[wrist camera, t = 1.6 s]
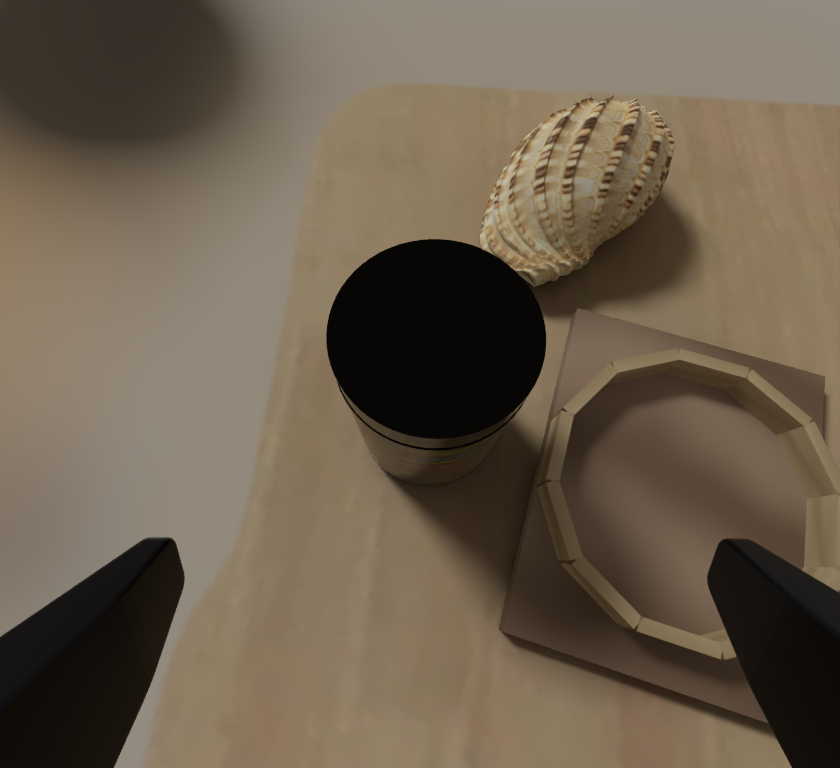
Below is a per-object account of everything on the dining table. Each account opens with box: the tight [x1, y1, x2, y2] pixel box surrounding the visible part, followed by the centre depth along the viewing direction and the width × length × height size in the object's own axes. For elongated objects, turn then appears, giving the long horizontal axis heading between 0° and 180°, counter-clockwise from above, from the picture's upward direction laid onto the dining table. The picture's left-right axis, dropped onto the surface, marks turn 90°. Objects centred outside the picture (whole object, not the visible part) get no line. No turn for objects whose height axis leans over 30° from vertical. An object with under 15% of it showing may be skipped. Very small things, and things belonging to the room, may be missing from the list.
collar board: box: [499, 308, 840, 724], centre depth 19 cm, size 14×11×2 cm
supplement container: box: [326, 239, 546, 486], centre depth 17 cm, size 6×6×9 cm
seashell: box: [480, 95, 674, 287], centre depth 23 cm, size 8×6×10 cm
